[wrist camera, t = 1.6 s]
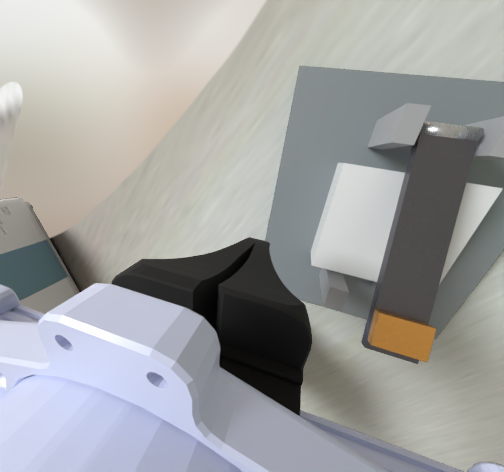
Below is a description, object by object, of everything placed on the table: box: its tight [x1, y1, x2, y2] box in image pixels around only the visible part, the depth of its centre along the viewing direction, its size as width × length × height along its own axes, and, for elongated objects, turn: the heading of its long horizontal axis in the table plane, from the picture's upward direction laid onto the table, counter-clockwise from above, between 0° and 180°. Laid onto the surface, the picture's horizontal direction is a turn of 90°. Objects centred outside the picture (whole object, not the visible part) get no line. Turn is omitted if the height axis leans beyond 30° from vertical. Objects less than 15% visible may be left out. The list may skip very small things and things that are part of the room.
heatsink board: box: [265, 66, 504, 339], centre depth 16 cm, size 22×20×6 cm
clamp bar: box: [362, 121, 484, 364], centre depth 12 cm, size 14×3×1 cm, turn 172°
